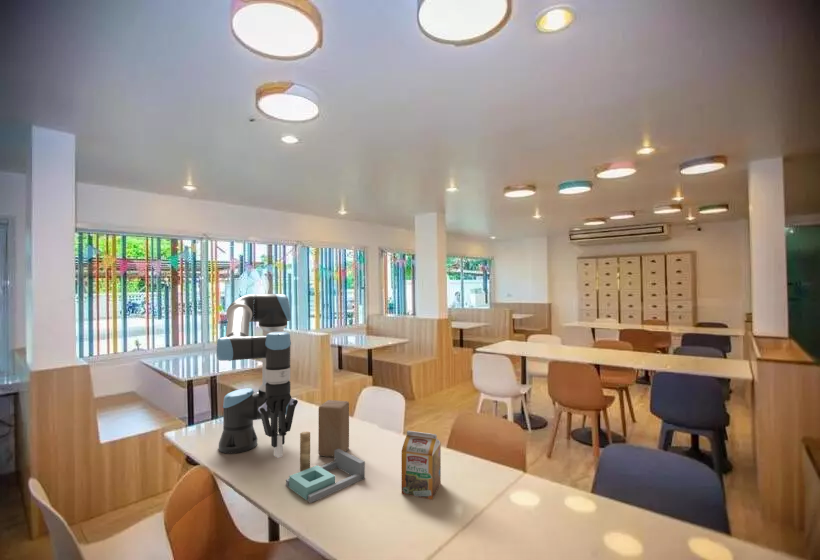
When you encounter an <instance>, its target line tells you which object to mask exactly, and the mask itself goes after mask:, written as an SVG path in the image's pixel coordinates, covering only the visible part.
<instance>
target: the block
mask: <svg viewBox="0 0 820 560" xmlns="http://www.w3.org/2000/svg"><path fill="white" fill-rule="evenodd" d="M349 448H350V402H349V401H347V400H334V399H333V400H332V399H327V400H326V401H325V402H323V403H322V404H321V405H320V406H318V450H317V452H318V455H319V456H321V457H331V458H334V450H336V449H341V450H343V451H345V452H347V451H348V450H349Z"/></svg>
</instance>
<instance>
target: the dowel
mask: <svg viewBox="0 0 820 560" xmlns="http://www.w3.org/2000/svg"><path fill="white" fill-rule="evenodd" d="M299 435H300V436H299V438H300V439H299V472H301V471H304V470H306V469H309V468H311V432H310V431H302V432H300V433H299Z"/></svg>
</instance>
